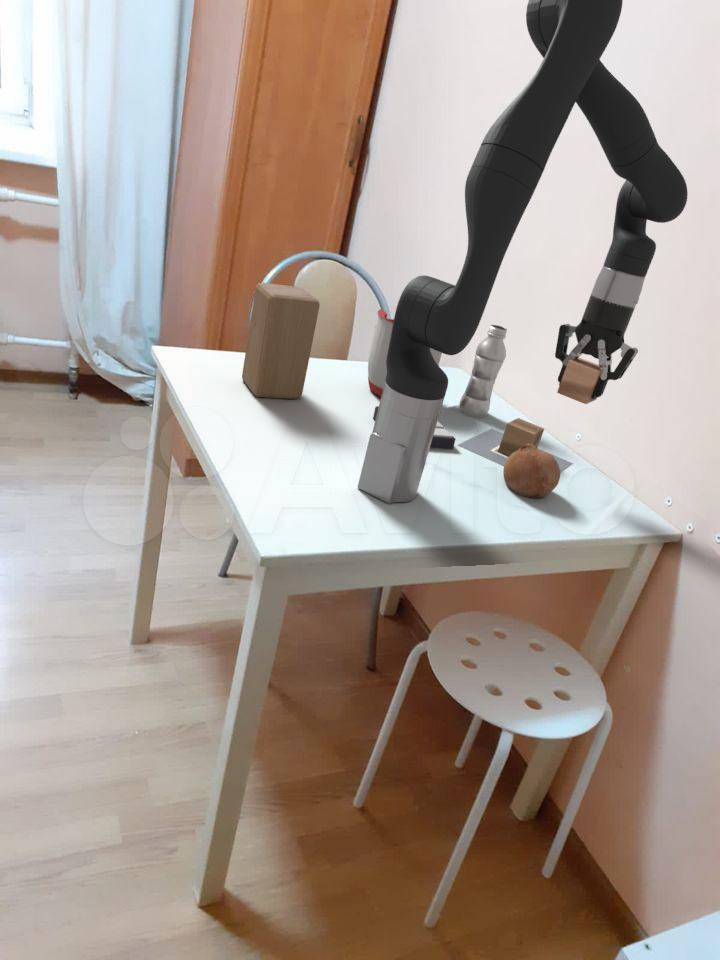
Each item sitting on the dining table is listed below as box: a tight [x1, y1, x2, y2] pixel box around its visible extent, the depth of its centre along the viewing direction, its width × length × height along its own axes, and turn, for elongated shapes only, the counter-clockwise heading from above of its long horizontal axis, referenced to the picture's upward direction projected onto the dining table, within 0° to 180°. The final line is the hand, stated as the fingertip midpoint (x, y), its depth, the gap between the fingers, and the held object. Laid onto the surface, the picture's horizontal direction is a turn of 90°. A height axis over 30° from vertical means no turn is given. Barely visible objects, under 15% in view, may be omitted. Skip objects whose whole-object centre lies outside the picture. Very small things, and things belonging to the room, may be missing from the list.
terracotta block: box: [556, 357, 601, 405], centre depth 127 cm, size 6×6×6 cm
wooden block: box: [241, 282, 321, 400], centre depth 139 cm, size 10×10×20 cm
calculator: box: [372, 405, 456, 451], centre depth 137 cm, size 11×4×15 cm
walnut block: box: [498, 417, 545, 457], centre depth 137 cm, size 6×6×6 cm
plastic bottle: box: [458, 324, 508, 419], centre depth 151 cm, size 6×7×20 cm
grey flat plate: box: [457, 428, 574, 474], centre depth 138 cm, size 16×18×1 cm
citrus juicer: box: [367, 308, 443, 398], centre depth 154 cm, size 16×17×20 cm
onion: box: [502, 443, 561, 500], centre depth 123 cm, size 10×9×10 cm
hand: (578, 391), depth 128 cm, fingers closed on terracotta block, 5 cm apart
